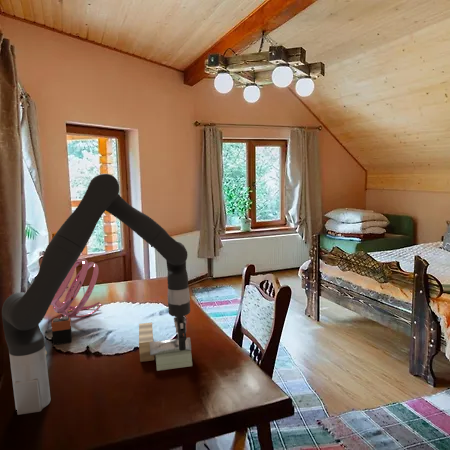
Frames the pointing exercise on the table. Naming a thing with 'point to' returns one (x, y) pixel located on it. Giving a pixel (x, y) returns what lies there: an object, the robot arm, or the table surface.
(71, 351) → the table surface
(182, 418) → the table surface
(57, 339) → the battery
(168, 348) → the pale grey long bar
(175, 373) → the table surface
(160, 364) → the v block
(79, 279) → the spiral basket
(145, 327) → the beam
